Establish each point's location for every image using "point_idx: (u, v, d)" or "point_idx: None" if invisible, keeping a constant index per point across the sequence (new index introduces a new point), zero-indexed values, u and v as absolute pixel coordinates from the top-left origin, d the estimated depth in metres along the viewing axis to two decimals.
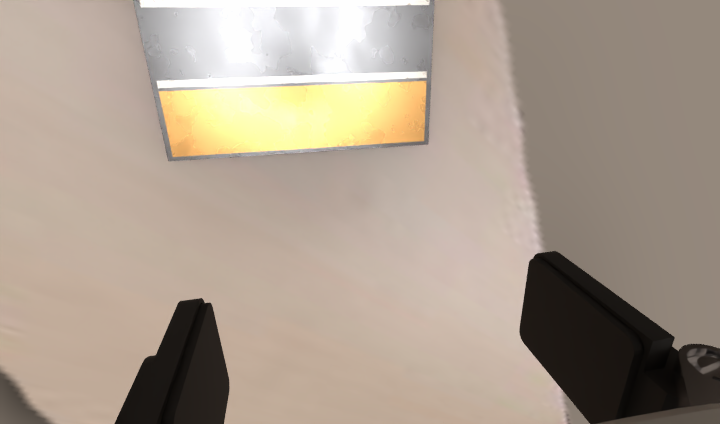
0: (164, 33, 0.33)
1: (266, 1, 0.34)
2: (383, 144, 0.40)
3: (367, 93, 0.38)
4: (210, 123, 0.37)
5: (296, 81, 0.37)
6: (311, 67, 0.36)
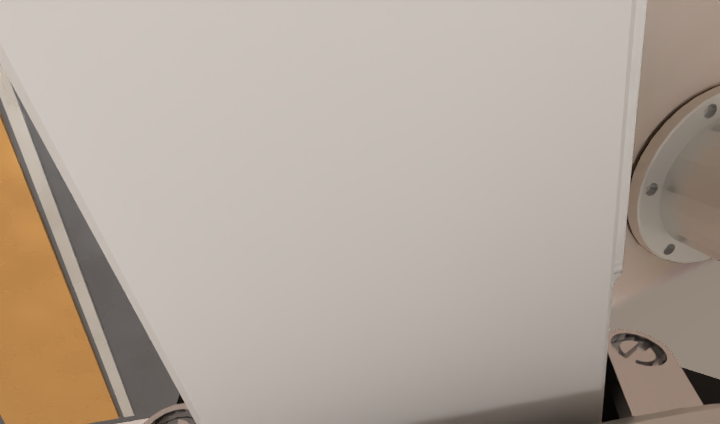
0: None
1: None
2: None
3: (72, 344, 0.22)
4: None
5: (56, 234, 0.20)
6: (91, 257, 0.20)
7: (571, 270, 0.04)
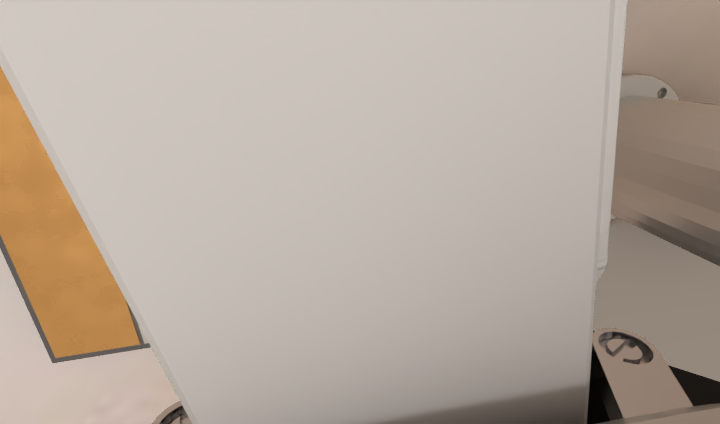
0: None
1: None
2: (33, 310, 0.28)
3: (105, 281, 0.28)
4: None
5: None
6: None
7: (555, 264, 0.05)
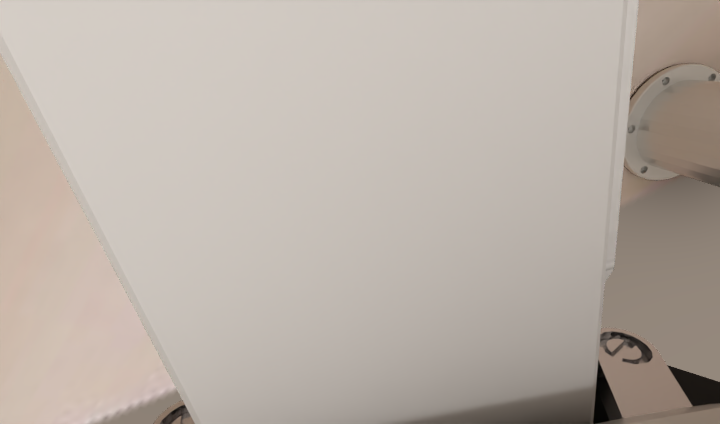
0: None
1: None
2: None
3: None
4: None
5: None
6: None
7: (564, 265, 0.05)
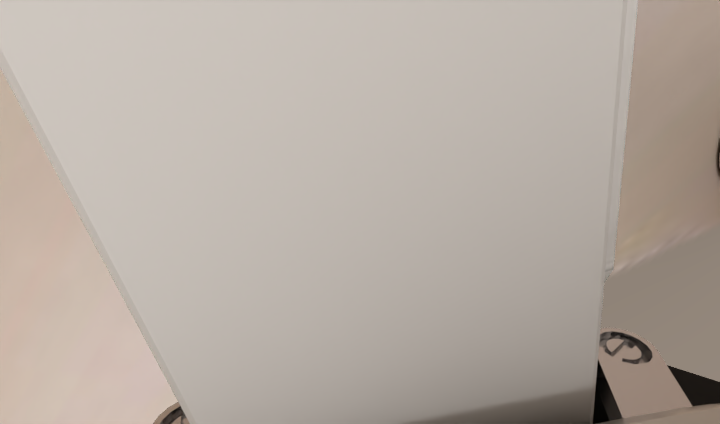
0: None
1: None
2: None
3: None
4: None
5: None
6: None
7: (563, 266, 0.04)
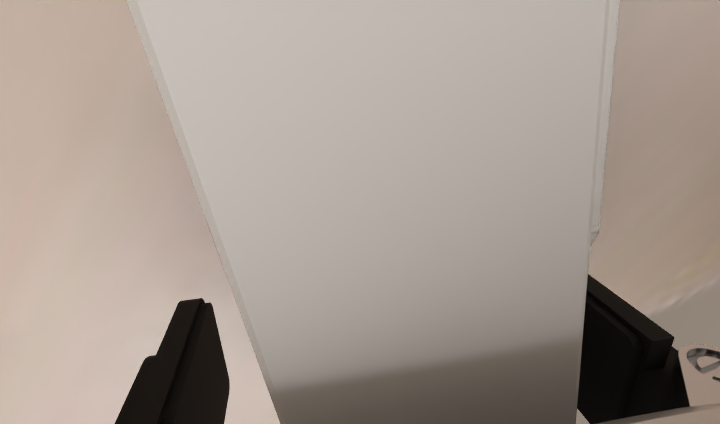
0: None
1: None
2: None
3: None
4: None
5: None
6: None
7: (557, 224, 0.06)
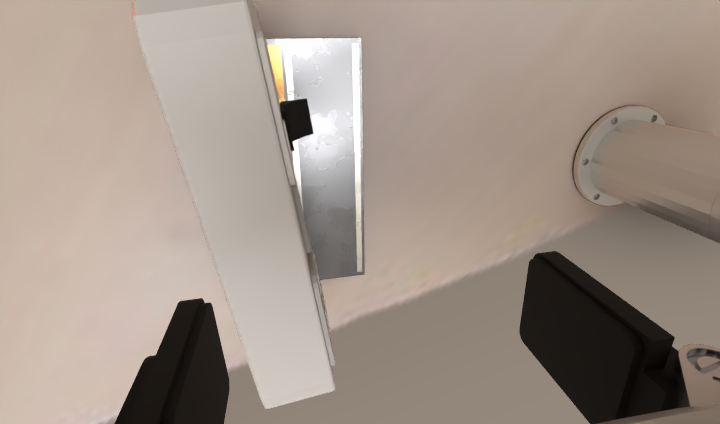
0: (331, 60, 0.37)
1: (358, 150, 0.41)
2: None
3: None
4: None
5: (295, 173, 0.40)
6: (307, 185, 0.41)
7: (273, 172, 0.22)
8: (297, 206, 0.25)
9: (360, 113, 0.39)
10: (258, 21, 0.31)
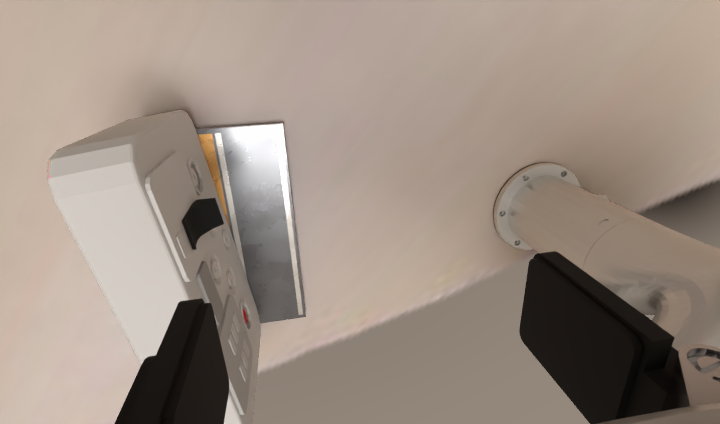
0: (258, 143, 0.43)
1: (289, 214, 0.47)
2: None
3: None
4: None
5: (234, 235, 0.47)
6: (246, 245, 0.47)
7: (168, 277, 0.28)
8: (202, 291, 0.32)
9: (288, 184, 0.45)
10: (184, 124, 0.38)
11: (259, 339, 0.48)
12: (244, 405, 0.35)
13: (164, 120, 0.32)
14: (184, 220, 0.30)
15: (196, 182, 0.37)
